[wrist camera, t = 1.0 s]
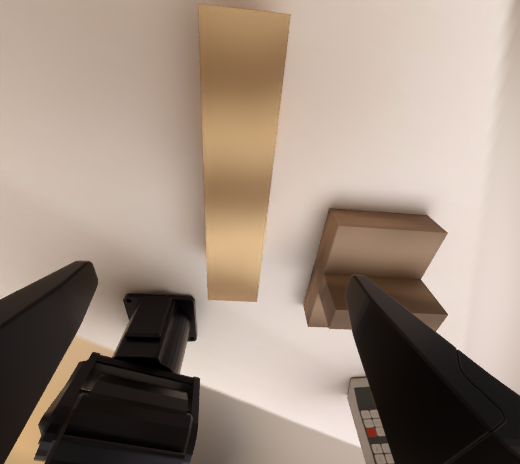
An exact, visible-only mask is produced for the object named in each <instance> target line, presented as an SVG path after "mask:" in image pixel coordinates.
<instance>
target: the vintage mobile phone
mask: <svg viewBox="0 0 520 464" xmlns="http://www.w3.org/2000/svg"><path fill="white" fill-rule="evenodd" d="M347 399H348V402H349V406H350V409H351V413H352V416H353V420H354V423H355V427H356V430H357V434H358V437H359V441H360V444H361V448H362V451H363V455H364V458H365V462H366V464H394V460H393V457H392V454H391V451H390V448H389V445H388V442H387V439H386V436H385V433H384V430H383V426H382V423H381V420H380V417H379V414H378V411H377V408H376V405H375V402H374V399H373V396H372V393H371V389H370V386H369V383H368V380H367V377H365V378H352V379H351V382H350V387H349V392H348V398H347Z"/></svg>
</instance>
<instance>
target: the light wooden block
mask: <svg viewBox="0 0 520 464" xmlns="http://www.w3.org/2000/svg"><path fill="white" fill-rule="evenodd" d="M198 16H199V46H200V76H201V106H202V137H203V167H204V197H205V227H206V258H207V288H208V300H226V301H249V302H257V296H258V288H259V279H260V271H261V262H262V254H263V245H264V237H265V228H266V220H267V211H268V203H269V195H270V186H271V178H272V169H273V161H274V152H275V144H276V135H277V127H278V118H279V110H280V101H281V93H282V84H283V76H284V67H285V59H286V50H287V42H288V33H289V25H290V16H291V15H290V14H282V13H273V12H265V11H256V10H248V9H240V8H231V7H223V6H214V5H206V4H198Z"/></svg>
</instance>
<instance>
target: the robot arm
mask: <svg viewBox="0 0 520 464" xmlns="http://www.w3.org/2000/svg"><path fill="white" fill-rule="evenodd" d="M97 285H98V278H97V275H96V272H95V269H94V266H93V264H92V263H91V262H90V261H75V262H73V263H71V264H69V265H67V266H65V267H63V268H61V269H59V270H57V271H56V272H54V273H52V274H50V275H48V276H46V277H44V278H42V279H40V280H38V281H36V282H34V283H32V284H30V285H28V286H26V287H24V288H22V289H20V290H18V291H16V292H14V293H12V294H10V295H8V296H6V297H4V298H2V299H0V464H4V463H5V460H6V459H7V457H8V455H9V454H10V452H11V450H12V448H13V446H14V444H15V443H16V441H17V439H18V437H19V436H20V434H21V432H22V430H23V428H24V427H25V425H26V423H27V421H28V419H29V418H30V416H31V414H32V412H33V410H34V408H35V407H36V405H37V403H38V401H39V400H40V398H41V396H42V394H43V392H44V391H45V389H46V387H47V385H48V383H49V382H50V380H51V378H52V376H53V374H54V373H55V371H56V369H57V367H58V365H59V364H60V362H61V360H62V358H63V356H64V354H65V353H66V351H67V349H68V347H69V346H70V344H71V342H72V340H73V339H74V337H75V335H76V333H77V331H78V329H79V327H80V325H81V323H82V321H83V319H84V316H85V314H86V312H87V309H88V307H89V304H90V302H91V300H92V297H93V295H94V293H95V290H96V288H97ZM345 298H346V303H347V308H348V313H349V318H350V323H351V328H352V332H353V336H354V340H355V343H356V346H357V349H358V352H359V355H360V359H361V362H362V365H363V368H364V371H365V374H366V377H367V380H368V383H369V386H370V389H371V393H372V396H373V399H374V402H375V405H376V408H377V411H378V414H379V417H380V420H381V423H382V426H383V430H384V433H385V436H386V439H387V442H388V445H389V448H390V451H391V454H392V457H393V460H394V464H520V395H518V394H517V393H515V392H514V391H512V390H511V389H510V388H508V387H507V386H505V385H504V384H503V383H501V382H500V381H499V380H497V379H496V378H494V377H493V376H492V375H490V374H489V373H488V372H486V371H485V370H484V369H483V368H481V367H480V366H479V365H477V364H476V363H475V362H473V361H472V360H471V359H470V358H468V357H467V356H466V355H465V354H463V353H462V352H461V351H459V350H456V348H455V347H454V346H453V345H452V344H450V343H449V342H448V341H447V340H445V339H444V338H443V337H442V336H440V335H439V334H438V333H437V332H435V331H434V330H433V329H431V328H430V327H429V326H428V325H426V324H425V323H424V322H423V321H421V320H420V319H419V318H418V317H416V316H415V315H414V314H413V313H411V312H410V311H409V310H407V309H406V308H405V307H404V306H402V305H401V304H400V303H399V302H397V301H396V300H395V299H394V298H392V297H391V296H390V295H388V294H387V293H386V292H385V291H383V290H382V289H381V288H380V287H378V286H377V285H376V284H375V283H373V282H372V281H371V280H369V279H368V278H367V277H366V276H364V275H352V276H351V277H350V280H349V282H348V285H347V288H346V291H345ZM124 304H125V308H126V311H127V314H128V318H129V323H128V325H127V327H126V329H125V331H124V334H123V336H122V338H121V340H120V342H119V344H118V346H117V348H116V350H115V352H114V354H113V357H112V358H111V357H107V356H103V355H100V353H96V352H93V353H92V354H91V356H90V358H89V359H88V360H87V361H82V362H79V363H78V365H77V367H76V369H75V370H74V372H73V374H72V375H71V377H70V379H69V380H68V382H67V384H66V385H65V387H64V388H63V389H62V391H61V392H60V393H59V395H58V396H57V398H56V399H55V400H54V401H53V403H52V404H51V406H50V407H49V408H48V410H47V411H46V412H45V414H44V415H43V417H42V418H41V420H40V422H39V424H38V426H39V429H40V432H41V438H40V440H39V443H38V444H40V445H39V448H38V450H37V453H36V455H35V458H34V460H36V461H46V462H45V464H189V463H190V460H191V457H192V454H193V450H194V447H195V442H196V437H197V430H198V413H199V389H200V378H198V377H189V376H185V375H181V374H180V370H181V366H182V362H183V357H184V353H185V349H186V345H187V341H196V339H197V326H196V311H195V300H194V298H192V297H188V296H165V295H143V294H127V295H126V296H125V297H124ZM88 390H89V391H88Z"/></svg>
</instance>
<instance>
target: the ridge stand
mask: <svg viewBox="0 0 520 464" xmlns="http://www.w3.org/2000/svg"><path fill="white" fill-rule="evenodd" d="M447 234H448V233H447V232H446V231H445V230H444V229H443V228H441V227H440V226H439V225H438V224H437V223H436V222H434V221H433V220H432V219H431V218H430V217H429V216H424V215H410V214H396V213H382V212H368V211H354V210H340V209H329V212H328V216H327V220H326V224H325V227H324V231H323V235H322V238H321V242H320V246H319V250H318V253H317V257H316V261H315V264H314V268H313V272H312V276H311V279H310V283H309V287H308V290H307V294H306V298H305V302H304V310H305V315H306V320H307V324H308V327H329V329H352V328H351V323H350V318H349V313H348V308H347V303H346V298H345V291H346V288H347V285H348V282H349V280H350V277H351V276H352V275H364V276H366V277H367V278H368V279H369V280H371V281H372V282H373V283H375V284H376V285H377V286H378V287H380V288H381V289H382V290H383V291H385V292H386V293H387V294H388V295H390V296H391V297H392V298H394V299H395V300H396V301H397V302H399V303H400V304H401V305H402V306H404V307H405V308H406V309H407V310H409V311H410V312H411V313H413V314H414V315H415V316H416V317H418V318H419V319H420V320H421V321H423V322H424V323H425V324H426V325H428V326H429V327H430V328H431V329H433V330H434V331H435V332H436V331H437V329H438V328H439V326H440V325H441V324H442V322H443V321H444V320H445V318H446V317H447V316H448V314H447V313H446V311H445V310H444V309H443V307H442V306H441V305H440V304H439V302H438V301H437V300H436V298H435V297H434V296H433V295H432V293H431V292H430V291H429V289H428V288H427V287H426V286H425V284H424V283H423V282H422V281H421V278H422V276H423V274H424V273H425V271H426V269H427V268H428V266H429V264H430V263H431V261H432V259H433V257H434V256H435V254H436V252H437V251H438V249H439V247H440V246H441V244H442V242H443V240H444V239H445V237H446V235H447Z"/></svg>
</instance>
